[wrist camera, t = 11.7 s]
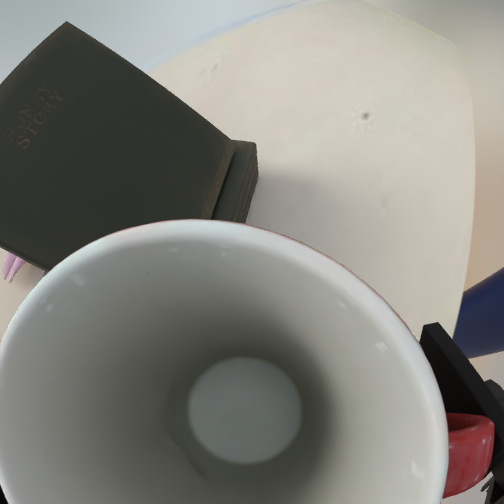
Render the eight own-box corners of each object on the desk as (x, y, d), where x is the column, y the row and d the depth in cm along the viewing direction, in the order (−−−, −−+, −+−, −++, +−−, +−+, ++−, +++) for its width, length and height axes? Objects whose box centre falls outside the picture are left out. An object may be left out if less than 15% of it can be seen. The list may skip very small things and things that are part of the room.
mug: (156, 459, 15) (-12, 536, 2) (183, 321, 18) (38, 198, 6) (365, 491, 13) (492, 604, 1) (391, 350, 17) (568, 274, 4)
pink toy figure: (53, 202, 42) (3, 279, 34) (37, 177, 37) (-20, 258, 29) (78, 210, 41) (24, 294, 33) (61, 183, 36) (-1, 273, 28)
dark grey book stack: (208, 357, 31) (48, 287, 8) (66, 307, 34) (-92, 214, 11) (259, 175, 39) (243, -15, 16) (129, 160, 42) (57, 19, 19)
